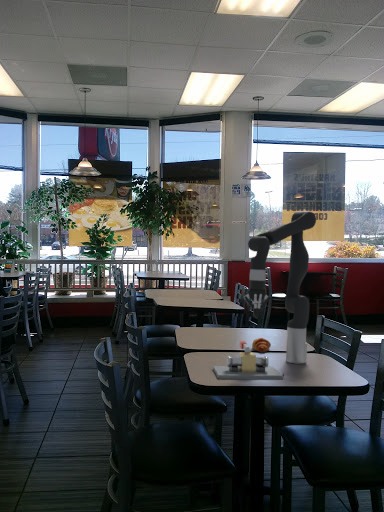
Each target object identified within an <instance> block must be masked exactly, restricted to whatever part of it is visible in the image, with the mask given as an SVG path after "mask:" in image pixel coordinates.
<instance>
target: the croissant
mask: <svg viewBox="0 0 384 512" xmlns="http://www.w3.org/2000/svg"><path fill="white" fill-rule="evenodd" d="M251 349H253V350H254V351H257V352H260V353H264V352H265V353H266V352H267V351H269V350H270V349H271V342H270V341H269V340H268V339H266V338H264V337H258V338H255V339H253V342H252V344H251Z"/></svg>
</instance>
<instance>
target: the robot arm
mask: <svg viewBox="0 0 384 512" xmlns="http://www.w3.org/2000/svg"><path fill="white" fill-rule="evenodd" d="M316 222H317V217H316V215H315V213H314V212H313V211H309V210H300V211H295V212H294V213H293V214H292V215H291V219H290V222H287V223H283V224H280V225H277V226H275V227H273V228H271V229H269V230H267V231H265V232H262V233H259V234H257V235H254V236H251V238H249V240H248V242H247V247H248V249H250V251H252V252H256V254H255V256H253V257H251V258H250V269H249V282H248V284H249V285H248V291H247V294H246V295H244V296H243V299H244V301H245V302H246V303H247V304H248V305H249V307H250V308H252V314H253V317H259V316H260V313H261V308H264V307H265V306H266V305H267V304H268V303H269V302H270V300H271V296H269V295H267V292H266V285H267V284H266V283H267V282H266V281H267V272H266V270H267V269H266V267H267V266H266V264H267V259H268V256H269V251H270V247H271V246H273V245H275V244H278V243H279V242H281V241H284V240H285V239H287V238H289V237H291V241H290V255H289V256H290V257H289V271H288V281H287V282H288V283H287V288H286V294H285V299H284V300H285V301H284V303H285V304H284V305H285V306H284V307H285V310H287V312H289V313H291V314H293V318H292V319H290V320H288V321H287V324H286V326H287V329H286V349H285V350H286V352H285V353H286V355H285V357H286V358H285V362H286V363H289V364H299V365H301V364H307V359H308V358H307V357H308V343H307V341H306V340H307V325H308V322H309V317H310V316H309V315H310V301H309V298H308V297H307V296H305V295H300V288H301V284H302V283H303V280H304V278H305V276H306V275H307V273H308V270H309V259H310V255H309V251H308V250H307V247H306V244H305V242H304V231H307V230H310V229H311V230H312V228H314V227H315V225H316V224H317V223H316ZM250 299H251V300H250ZM263 299H264V300H263ZM251 301H252V302H251Z"/></svg>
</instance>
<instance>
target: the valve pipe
mask: <svg viewBox="0 0 384 512" xmlns="http://www.w3.org/2000/svg"><path fill="white" fill-rule="evenodd" d="M238 355H239V356H230V355H227V356H226V366H227V367H229V369H230V371H231V372H238V366H239V369H240V371H241V372H245V373H255V368H256V370H257V371H258V372H265V367H269V357H268V356H266V355H265V356H256V354H255V353H254V352H252V351H251V353H250V354H247V353H245V351H244V352H243V351H241V352H239V354H238Z"/></svg>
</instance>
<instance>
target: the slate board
mask: <svg viewBox="0 0 384 512" xmlns="http://www.w3.org/2000/svg"><path fill="white" fill-rule="evenodd" d="M212 370H213V371H214V372H213V373H214V374H215V375H216V376H217V378H218V379H219V380H222V379H223V380H226V379H227V380H237V379H238V380H240V379H241V380H283V379H284V376H283V374H282V373H281V372H280V371H279V370H278V369H276V368H275V367H274V366H268V367H265V372H258V371H257V370H256V368H255V373H245V372H241V371H240V369H239V366H238V372H231V371H230V369H229V367H227V365H226V366H225V365H214V366H212Z"/></svg>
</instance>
